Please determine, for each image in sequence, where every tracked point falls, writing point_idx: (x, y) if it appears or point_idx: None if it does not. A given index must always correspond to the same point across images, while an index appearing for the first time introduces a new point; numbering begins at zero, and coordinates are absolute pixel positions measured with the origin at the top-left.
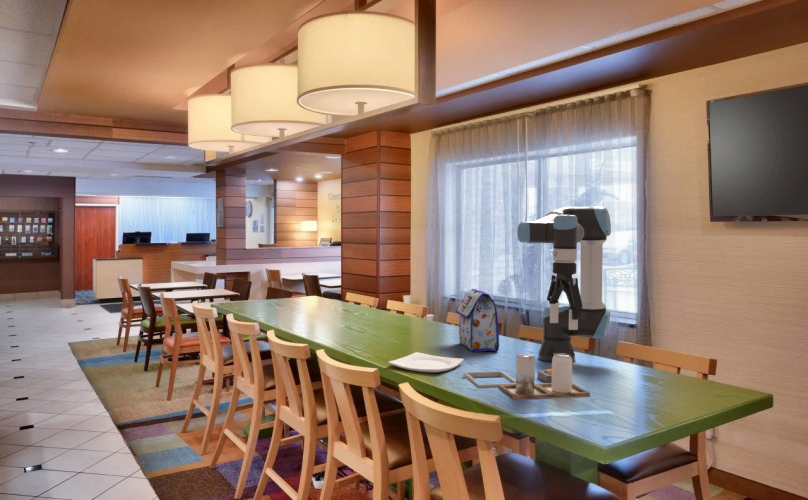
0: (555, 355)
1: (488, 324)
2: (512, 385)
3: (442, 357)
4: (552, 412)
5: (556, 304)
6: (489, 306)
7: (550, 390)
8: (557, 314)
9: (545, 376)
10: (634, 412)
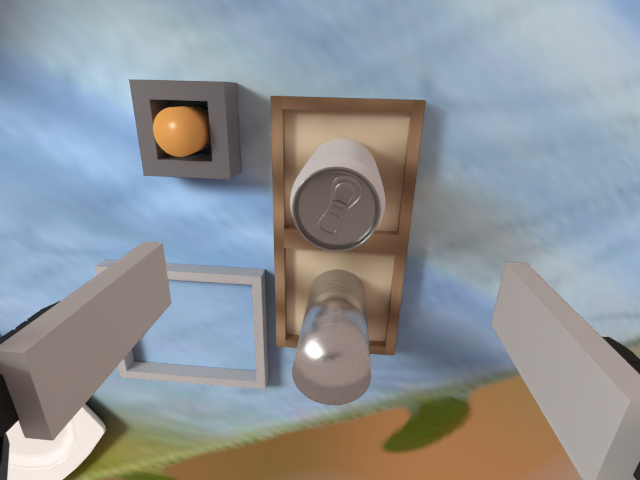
0: (342, 250)
1: None
2: (284, 313)
3: None
4: None
5: (37, 374)
6: None
7: None
8: (119, 286)
9: (215, 177)
10: (622, 19)
